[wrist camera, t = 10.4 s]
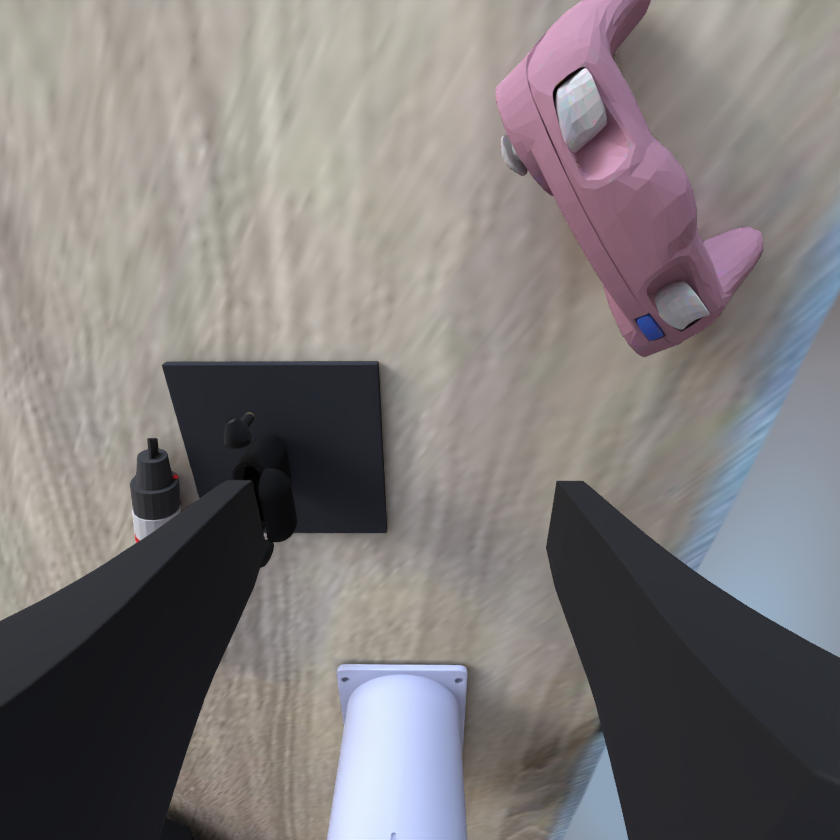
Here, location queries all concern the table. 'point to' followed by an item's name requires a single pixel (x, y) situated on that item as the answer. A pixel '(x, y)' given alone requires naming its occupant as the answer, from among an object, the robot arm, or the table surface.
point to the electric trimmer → (175, 831)
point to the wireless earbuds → (265, 478)
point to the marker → (153, 491)
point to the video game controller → (618, 180)
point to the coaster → (292, 432)
